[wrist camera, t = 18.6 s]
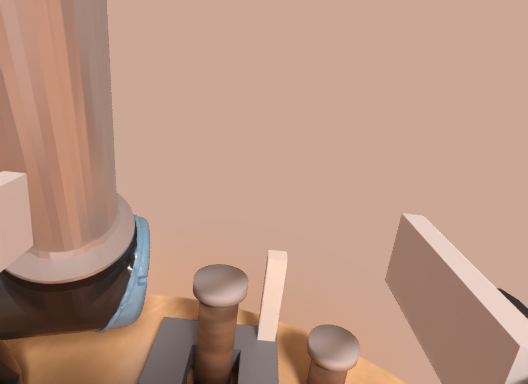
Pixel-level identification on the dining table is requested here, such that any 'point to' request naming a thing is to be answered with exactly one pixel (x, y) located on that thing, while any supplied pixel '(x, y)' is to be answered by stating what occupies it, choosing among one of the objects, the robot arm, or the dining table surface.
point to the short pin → (331, 354)
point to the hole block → (245, 344)
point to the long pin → (217, 320)
